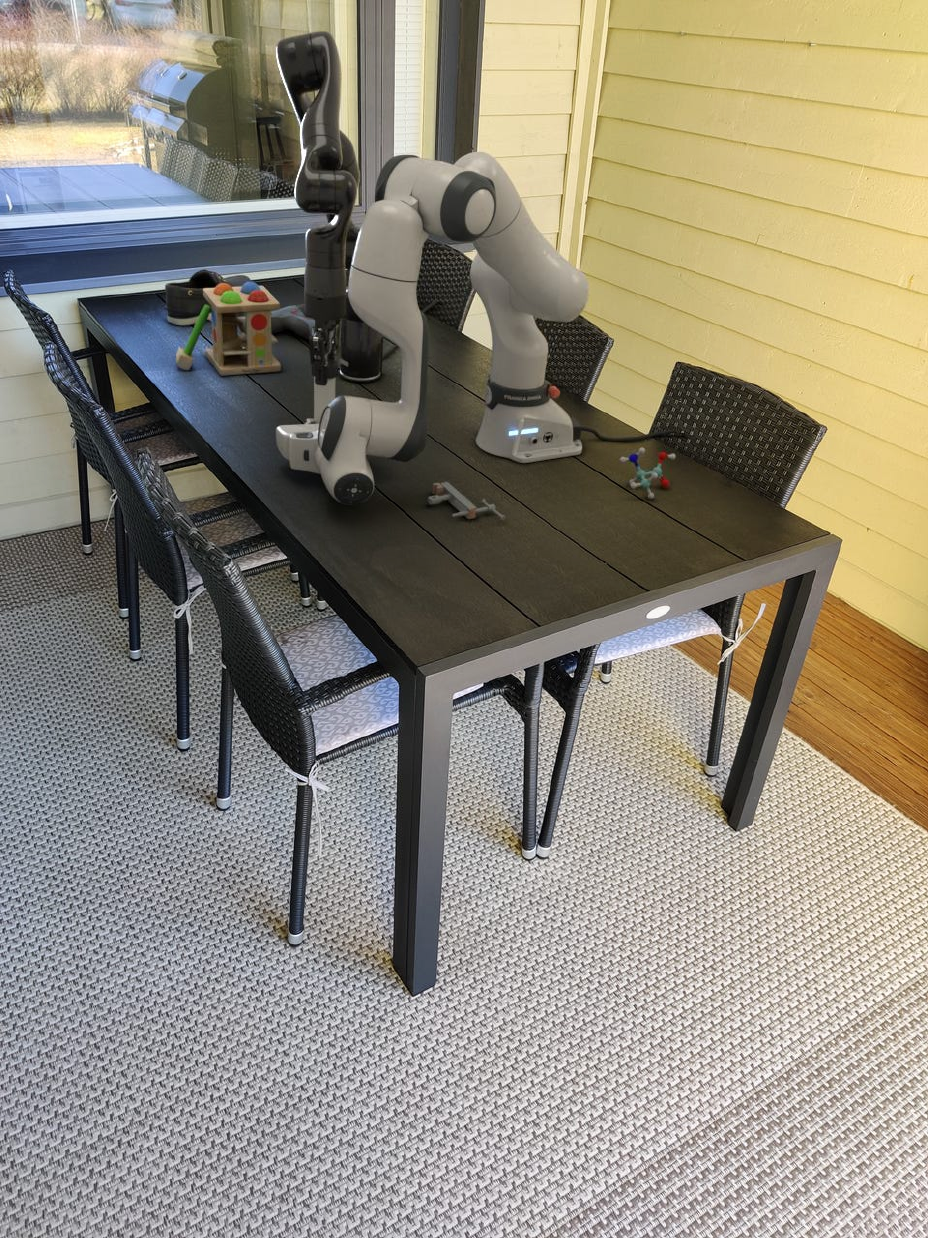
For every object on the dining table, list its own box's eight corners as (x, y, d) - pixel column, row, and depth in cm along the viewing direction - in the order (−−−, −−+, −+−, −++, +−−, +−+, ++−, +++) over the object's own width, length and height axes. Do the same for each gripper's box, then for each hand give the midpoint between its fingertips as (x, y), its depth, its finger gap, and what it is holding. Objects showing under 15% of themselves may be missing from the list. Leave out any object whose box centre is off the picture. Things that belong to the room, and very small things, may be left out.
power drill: (365, 313, 253) (305, 296, 261) (318, 330, 240) (256, 311, 248) (364, 334, 256) (305, 316, 264) (318, 351, 243) (257, 332, 251)
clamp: (419, 485, 182) (465, 477, 187) (418, 496, 183) (464, 487, 188) (459, 522, 172) (507, 512, 176) (457, 533, 173) (505, 523, 177)
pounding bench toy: (183, 379, 220) (176, 299, 210) (169, 357, 231) (162, 280, 221) (282, 371, 230) (280, 294, 220) (264, 350, 240) (262, 276, 230)
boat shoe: (273, 303, 272) (271, 265, 267) (185, 327, 248) (181, 285, 243) (238, 295, 278) (236, 257, 272) (149, 317, 254) (144, 276, 249)
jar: (310, 454, 194) (310, 366, 184) (321, 447, 198) (321, 360, 187) (327, 459, 193) (328, 370, 183) (338, 452, 196) (339, 365, 186)
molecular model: (677, 492, 186) (662, 441, 184) (629, 506, 189) (614, 457, 188) (684, 485, 196) (670, 436, 195) (639, 499, 200) (624, 451, 198)
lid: (320, 380, 183) (320, 368, 182) (306, 372, 186) (306, 359, 185) (342, 376, 186) (343, 364, 185) (329, 368, 189) (329, 356, 188)
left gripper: (315, 276, 183) (315, 364, 193) (293, 297, 172) (294, 390, 181) (355, 281, 183) (353, 369, 192) (335, 302, 171) (334, 395, 181)
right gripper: (392, 433, 183) (375, 404, 194) (281, 437, 177) (271, 408, 188) (390, 463, 186) (374, 433, 197) (282, 469, 181) (272, 438, 191)
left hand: (324, 379), depth 187 cm, fingers closed on lid, 4 cm apart
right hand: (323, 421), depth 192 cm, fingers closed on jar, 4 cm apart
